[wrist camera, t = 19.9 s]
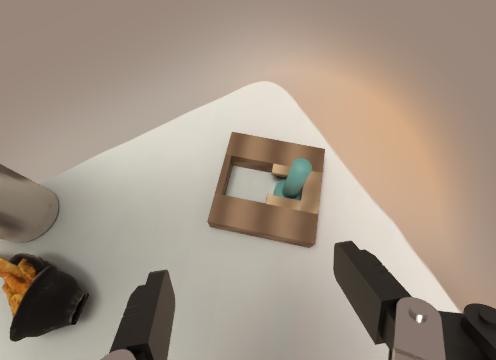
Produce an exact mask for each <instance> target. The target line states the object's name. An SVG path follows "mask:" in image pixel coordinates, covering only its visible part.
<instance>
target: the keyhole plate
mask: <svg viewBox="0 0 496 360" xmlns="http://www.w3.org/2000/svg"><path fill="white" fill-rule="evenodd" d="M324 154H325V149H322V148H316V147H311V146H305V145H300V144H295V143H289V142H284V141H279V140H273V139H268V138H262V137H257V136H252V135H246V134H241V133H236V132H232V134H231V137H230V141H229V145H228V148H227V152H226V155H225V159H224V163H223V166H222V170H221V174H220V177H219V181H218V185H217V188H216V192H215V196H214V199H213V203H212V207H211V210H210V214H209V218H208V223H209V225H210V227H214V228H219V229H223V230H228V231H233V232H238V233H242V234H247V235H252V236H256V237H261V238H266V239H271V240H275V241H280V242H285V243H290V244H294V245H299V246H304V247H309V248H310V247H311V246H313V245H314V244H315V240H316V231H317V221H318V211H319V202H320V192H321V182H322V173H323V163H324ZM298 158H304V159H307V160H308V161H309V162H310V163H311V165H312V170H311V172H310V174H309V176H308V178H307V179H306V181H305V183H304V185H303V186H302V190H301V197H300V200H295V199H290V198H285V197H280V196H275V195H270V194H268V195H267V200H266V204H265V203H260V202H255V201H250V200H245V199H240V198H235V197H230V196H225V192H226V188H227V184H228V180H229V177H230V173H231V169H232V165H235V166H240V167H245V168H251V169H256V170H261V171H266V172H271V173H272V174H271V175H275V176H280V177H285V178H287V176H288V174H289V171H290V169H291V166H292V163H293V162H294V160H296V159H298Z"/></svg>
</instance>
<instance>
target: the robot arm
mask: <svg viewBox="0 0 496 360" xmlns="http://www.w3.org/2000/svg"><path fill="white" fill-rule="evenodd" d="M58 209H59V204H58V200H57V197H56V196H55V194H54V193H53V192H52V191H50V190H49V189H47V188H45V187H43V186H41V185H39V184H37V183H35V182H33V181H32V180H30V179H28V178H26V177H24V176H22V175H20V174H18V173H16V172H14V171H13V170H11V169H9V168H7V167H5V166H3V165H1V164H0V239H2V240H6V241H11V242H27V241H30V240H33V239H35V238H37V237H39V236H41V235H42V234H43V233H45V232H46V231H47V230H48V229H49V228H50V227H51V225H52V224H53V222H54V221H55V219H56V216H57V214H58ZM333 269H334V275H335V278H336V280H337V282H338V284H339V285H340V287H341V289H342V290H343V292H344V294H345V295H346V297H347V299H348V300H349V302H350V304H351V305H352V307H353V309H354V310H355V312H356V313H357V315H358V317H359V318H360V320H361V322H362V323H363V325H364V327H365V328H366V330H367V332H368V333H369V335H370V337H371V338H372V340H373V342H374V343H375V345H376V344H381V343H386V345H387V346H388V348H389V353H388V360H496V309H495V308H492V307H490V306H487V305H483V304H469V305H467V306H466V307H465V308H464V311H463V314H462V313H452V312H443V311H437V310H436V309H435V308H434V307H433V306H432V305H430V304H429V303H427V302H426V301H423V300H421V299H418V298H414V297H412V296H411V295H410V294H409V293H408V292H407V291H406V290H405V289H404V287H403V286H402V285H401V284H400V283H399V282H398V281H397V280H396V279H395V277H394V276H393V275H392V274H391V273H390V272H388V270H387V269H386V267H385V266H384V265H382V263H381V262H380V261H379V260H378V259H377V258H376V256H374V255H373V254H371V253H369V252H368V251H366V250H359V248H358V247H357V246H356V245H355V244H354V243H353V242H352V241H345V242H339V243H335V246H334V266H333ZM126 307H127V308H126V309H125V312H124V314H123V317H122V320H121V323H120V325H119V328H118V331H117V333H116V336H115V339H114V342H113V344H112V347H111V350H110V352H109V354H107V355H106V356H105V357H103V358H102V359H101V360H167V356H168V350H169V344H170V337H171V331H172V324H173V318H174V312H175V295H174V291H173V287H172V284H171V280H170V276H169V272H168V270H161V271H154V272H150V273H149V275H148V279H147V282H146V285H141V286H138V287H137V288H136V289H135V291H134V292H133V293H132V294H131V296H130V298H129V301H128V303H127V306H126Z"/></svg>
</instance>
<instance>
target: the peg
mask: <svg viewBox="0 0 496 360" xmlns="http://www.w3.org/2000/svg"><path fill="white" fill-rule="evenodd" d="M311 170H312V165H311V163H310V162H309V161H308V160H307V159H304V158H298V159H296V160H294V162H293V163H292V166H291V169H290V171H289V174H288V176H287V178H286V179H283V180H281V181H279V182H278V183H277V185H276V187H275V190H274V195H275V196H280V197H285V198H290V199H295V200H300V197H301V190H302V186H303V185H304V183H305V181H306V179H307V178H308V176H309V174H310V172H311Z"/></svg>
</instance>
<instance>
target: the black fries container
mask: <svg viewBox="0 0 496 360" xmlns="http://www.w3.org/2000/svg"><path fill="white" fill-rule="evenodd" d="M0 277H2V278H3V279H4V280H5V284H4V286H3V287H2V289H3V290H4V292H5V293H6V294H7V298H8V301H9V305H10V306H11V310H12V314H13V321H12V325H11V327H10V340H12V341H15V342H16V341H19V340H21V339H23V338H25V337H37V336H41V335H43V334H45V333H48V332H50V331H52V330H55V329H58V328H61V327H64V326H67V325H75V324H76V322H77V320H78V318H79V315H80V313H81V311H82V308H83V307H84V305H85V302H86V301H87V298H88V296H89V294H88V293H87V294H85V293H83V292H82V291H81V289H80V288H79V287H78V285H77V283H76V281H75V280H74V278H72V277H71V276H69V275H67V274H65V273H63V272H60V271H58V270H57V269H56V267H54V266H53V265H52V264H51V263H50V262H48V261H44V260H43V259H42V258H40V257H36V256H34V255H29V254H26V253H25V254H23V253H21V254H17V255H15V256H14V257H13V258H12V259H11V260H10V261H6V260H4V259H2V258H0Z"/></svg>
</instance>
